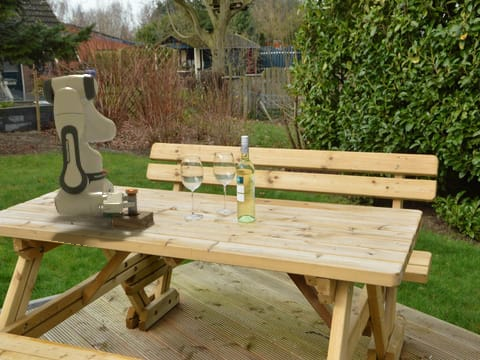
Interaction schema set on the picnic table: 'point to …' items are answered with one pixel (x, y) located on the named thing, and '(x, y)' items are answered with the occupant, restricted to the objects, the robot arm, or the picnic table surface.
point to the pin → (132, 197)
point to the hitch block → (132, 220)
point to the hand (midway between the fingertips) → (134, 201)
